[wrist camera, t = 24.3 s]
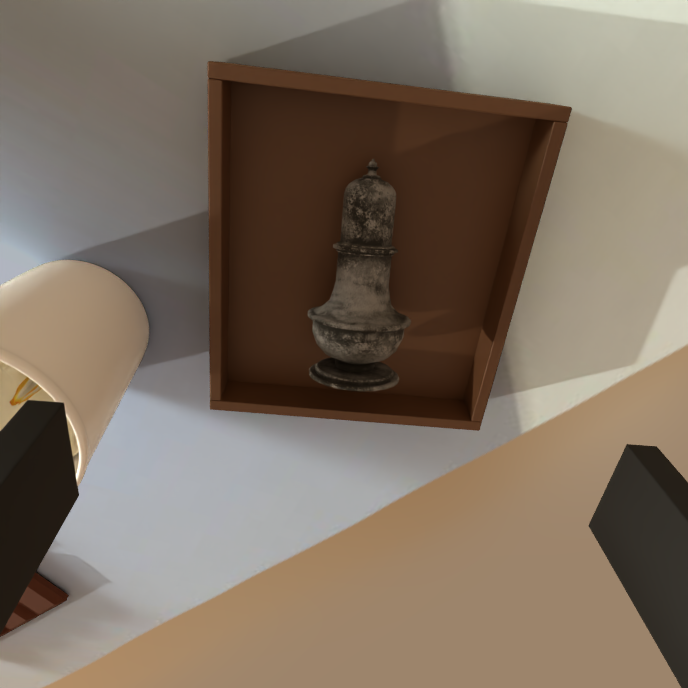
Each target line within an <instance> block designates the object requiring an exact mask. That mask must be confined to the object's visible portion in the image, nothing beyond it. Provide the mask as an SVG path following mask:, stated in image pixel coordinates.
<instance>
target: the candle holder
mask: <svg viewBox="0 0 688 688" xmlns="http://www.w3.org/2000/svg"><path fill="white" fill-rule="evenodd" d="M148 340H149V323H148V318H147V315H146V312H145V309H144V307H143V305H142V303H141V301H140V300H139V298H138V297H137V295H136V294H135V293H134V291H133V290H132V289H131V288H130V287H129V286H128V285H127V284H126V283H125V282H124V281H123V280H121V279H120V278H119V277H117V276H116V275H114V274H113V273H111V272H110V271H108V270H106V269H104V268H102V267H99V266H97V265H94V264H91V263H87V262H83V261H77V260H57V261H52V262H48V263H44V264H42V265H39V266H37V267H35V268H32V269H30V270H28V271H26V272H24V273H22V274H20V275H18V276H17V277H15V278H13V279H11V280H9V281H7V282H5V283H3V284H1V285H0V431H1V430H2V429H3V427H4V426H5V425H6V424H7V423H8V422H9V421H10V419H11V418H12V417H13V416H14V415H15V414H16V413H17V411H18V410H19V409H20V408H21V407H22V406H23V405H24V403H25V402H26V401H27V400H36V401H49V402H63V403H64V406H65V412H66V418H67V424H68V431H69V437H70V443H71V449H72V455H73V461H74V468H75V474H76V480H77V486H79V484H80V483H81V481H82V479H83V477H84V474H85V471H86V468H87V465H88V463H89V461H90V459H91V457H92V456H93V454H94V452H95V450H96V448H97V446H98V444H99V442H100V440H101V438H102V436H103V434H104V432H105V430H106V428H107V426H108V425H109V423H110V421H111V419H112V417H113V415H114V413H115V411H116V409H117V407H118V405H119V403H120V401H121V399H122V397H123V396H124V394H125V392H126V390H127V388H128V386H129V384H130V382H131V380H132V378H133V376H134V374H135V372H136V370H137V368H138V366H139V364H140V362H141V360H142V358H143V356H144V353H145V351H146V348H147V345H148Z"/></svg>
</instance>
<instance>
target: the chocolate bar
mask: <svg viewBox="0 0 688 688" xmlns="http://www.w3.org/2000/svg"><path fill="white" fill-rule="evenodd" d="M68 596H69V595H67V594H66V593H64V592H63V591H62V590H60V589H59V588H57V587H56V586H54V585H53V584H52V583H50V582H49V581H47V580H46V579H44V578H43V577H42V576H40V575H39V574H37V573H36V572H35V574H34V576H33V578H32V579H31V581H30V583H29V585H28V586H27V588H26V590H25V592H24V594H23V595H22V597H21V599H20V601H19V602H18V604H17V606H16V608H15V609H14V611H13V613H12V615H11V617H10V618H9V620H8V622H7V624H6V625H5V627H4V629H3V631H2V632H1V634H0V637H1V636H3V635H5V634H6V633H8V632H10V631H12V630H14V629H16V628H17V627H19V626H21V625H23V624H25V623H27V622H28V621H30V620H32V619H34V618H36V617H37V616H39V615H41V614H43V613H45V612H47V611H48V610H50V609H52V608H54V607H56V606H58V605H59V604H61V603H63V602H65V601H66V600H67V598H68Z"/></svg>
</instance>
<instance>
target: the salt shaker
mask: <svg viewBox="0 0 688 688" xmlns="http://www.w3.org/2000/svg"><path fill="white" fill-rule="evenodd" d="M366 167H367V168H368V174H367V175H363V177H362V178H359V179H355V180H354V181H352V182H351V183H349V184H348V186H347V187H346V188H345V192H344V199H343V212H342V225H341V238H340V241H339V242H337V243H336V244H333V248H336V250H337V251H338V258H337V271H336V282H335V285H334V289H333V291H332V294H331V297H330V300H328V301H327V302H326V303H325V304H324V305H322V306H317V307H313V308H311V309H310V310H308V317H309V318H310V319H311V320H313V326H312V332H313V335H314V338H315V341H316V343H317V345H318V346H319V347H320V348H321V349H322V351H323V352H324V353H325V354H326V355H328V356H330V358H326V359H323V360H321V361H319V362H318V363H316V364H314V365H312V366H311V367H310V368H309V375H310V377H311V378H312V379H313V380H315V381H317V382H318V383H321V384H323V385H326V386H329V387H333V388H337V389H343V390H350V391H379V390H385V389H388V388H391V387H394V386H395V385H397V384H398V382H399V376H398V374H397V373H396V372H395V371H393V370H392V369H391V368H390V367H389V366H387V365H386V364H384V363H382V362H379V361H383V360H385V359H387V358H388V357H390V356H391V355H392V354H393V353H394V352H396V350H397V348H398V347H399V345H400V343H401V341H402V339H403V337H404V329H405V328H407V327H409V326H410V324H411V320H410V319H409V318H408V317H407V316H405V315H403V314H401V313H398V312H397V311H396V310H395V309H394V308H393V306H392V305H391V299H390V293H389V278H390V268H391V259H392V256H393V255H394V254H395V253H397V252H398V250H397V249H395V247H394V246H392V236H393V226H394V216H395V207H396V192H395V190H394V188H393V187H392V186H391V185H390V184H389V183H388V182H386V181H384V180H382V178H381V177H380V176H378V175H377V173H376V171H377V169H378V168H379V167H378V166H377V163H376V162H375V159H372V160H371V162H369V166H366Z"/></svg>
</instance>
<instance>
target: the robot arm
mask: <svg viewBox="0 0 688 688" xmlns="http://www.w3.org/2000/svg"><path fill="white" fill-rule="evenodd" d="M78 496H79V492H78V486H77V480H76V474H75V468H74V461H73V455H72V449H71V443H70V437H69V431H68V424H67V418H66V412H65V406H64V403H63V402H49V401H36V400H27V401H26V402H25V403H24V405H23V406H22V407H21V408H20V409H19V410H18V411H17V413H16V414H15V415H14V416H13V417H12V418H11V419H10V421H9V422H8V423H7V424H6V425H5V426H4V427H3V429H2V430H1V431H0V634H1V632H2V631H3V629H4V627H5V625H6V624H7V622H8V620H9V618H10V617H11V615H12V613H13V611H14V609H15V608H16V606H17V604H18V602H19V601H20V599H21V597H22V595H23V594H24V592H25V590H26V588H27V586H28V585H29V583H30V581H31V579H32V578H33V576H34V574H35V572H36V570H37V569H38V567H39V565H40V563H41V562H42V560H43V558H44V556H45V555H46V553H47V551H48V549H49V547H50V546H51V544H52V542H53V540H54V539H55V537H56V535H57V533H58V531H59V530H60V528H61V526H62V524H63V523H64V521H65V519H66V517H67V516H68V514H69V512H70V510H71V508H72V507H73V505H74V503H75V501H76V500H77V498H78ZM589 527H590V529H591V531H592V532H593V534H594V536H595V538H596V539H597V541H598V543H599V545H600V546H601V548H602V550H603V551H604V553H605V555H606V557H607V559H608V560H609V562H610V564H611V566H612V567H613V569H614V571H615V572H616V574H617V576H618V578H619V579H620V581H621V583H622V584H623V586H624V588H625V590H626V592H627V593H628V595H629V597H630V599H631V600H632V602H633V604H634V606H635V607H636V609H637V611H638V613H639V614H640V616H641V618H642V620H643V621H644V623H645V625H646V627H647V628H648V630H649V632H650V634H651V635H652V637H653V639H654V640H655V642H656V644H657V646H658V648H659V649H660V651H661V653H662V655H663V656H664V658H665V660H666V661H667V663H668V665H669V667H670V668H671V670H672V672H673V674H674V675H675V677H676V678H677V681H678V682H679V684H680V686H681V688H688V482H687V481H686V480H685V479H684V478H683V476H682V475H681V474H680V473H679V472H678V471H677V470H676V468H675V467H674V466H673V465H672V464H671V463H670V461H669V460H668V459H667V458H666V457H665V456H664V454H662V452H661V451H660V450H659V449H658V448H657V447H655V446H642V445H628V444H627V445H626V448H625V449H624V452H623V454H622V456H621V458H620V460H619V462H618V464H617V466H616V468H615V471H614V473H613V475H612V477H611V479H610V481H609V483H608V485H607V488H606V490H605V492H604V494H603V496H602V498H601V500H600V503H599V505H598V507H597V509H596V511H595V513H594V515H593V517H592V519H591V522H590V524H589Z"/></svg>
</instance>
